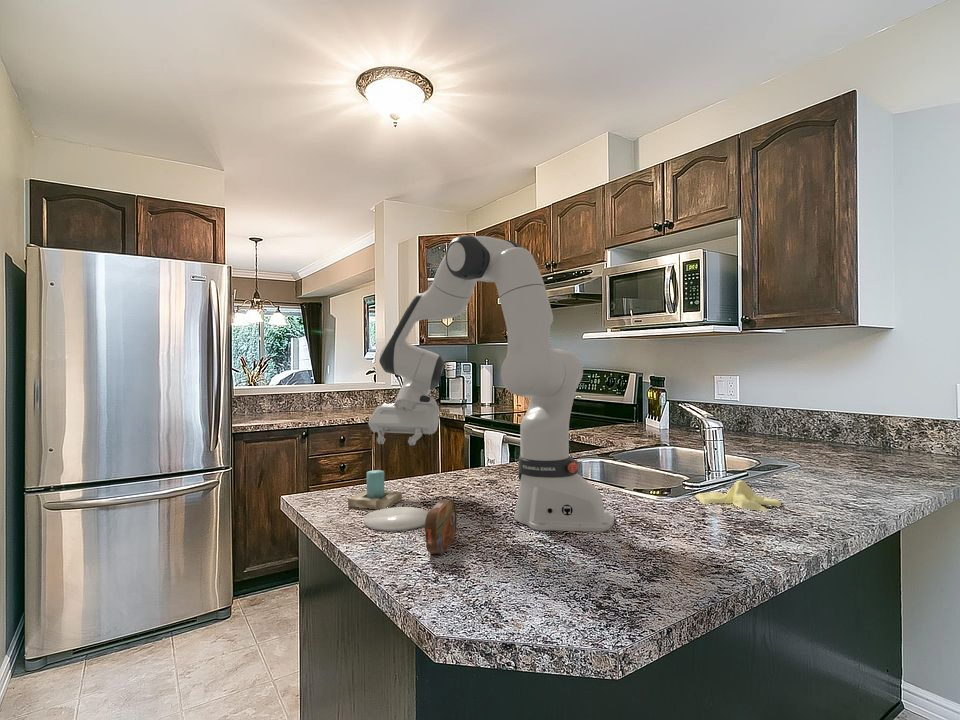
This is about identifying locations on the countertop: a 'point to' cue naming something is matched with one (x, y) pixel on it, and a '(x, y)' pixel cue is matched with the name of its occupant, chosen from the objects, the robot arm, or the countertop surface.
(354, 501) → the pocket block
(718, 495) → the cloth
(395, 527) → the round white disc
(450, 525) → the tin
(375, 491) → the peg
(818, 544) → the countertop surface
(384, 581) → the countertop surface
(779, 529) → the countertop surface
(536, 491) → the robot arm
